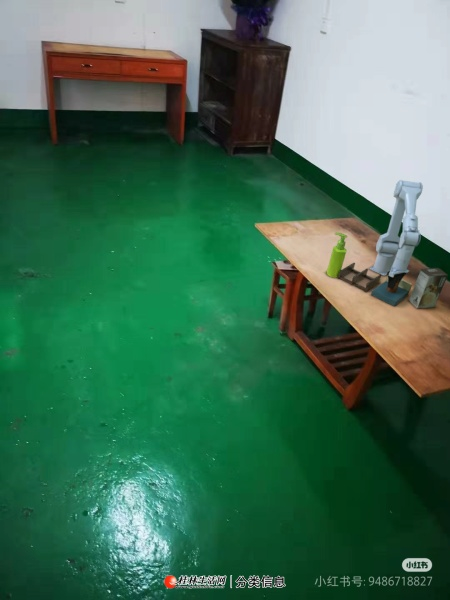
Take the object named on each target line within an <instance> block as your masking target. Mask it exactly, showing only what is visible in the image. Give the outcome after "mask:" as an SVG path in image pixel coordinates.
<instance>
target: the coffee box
mask: <svg viewBox="0 0 450 600" xmlns="http://www.w3.org/2000/svg"><path fill="white" fill-rule="evenodd" d="M448 276H449V275H448V274H447V273H446V272H445V271H443V270H442V269H441V268H439V267H432V268H431V267H428V268H420V270H419V272H418V275H417V278H416V281H415V283H414V286H413V288H412V291H411V294H410V296H409V299H408V301H409V302H410V303H411V305H413V306H414V307H415V308H416V309H428V308H435V307H436V305H437V302H438V300H439V297H440V295H441V293H442V290H443V288H444V285H445V284H446V280H447V279H448Z"/></svg>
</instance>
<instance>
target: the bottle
mask: <svg viewBox="0 0 450 600" xmlns="http://www.w3.org/2000/svg"><path fill="white" fill-rule="evenodd" d="M399 283H400V281H399V280H398V281H397V282H396V284H395V286H394V288H393V289H390V288H388V286H387V291H388V292H391V293H396V291H397V289H398V286H399Z"/></svg>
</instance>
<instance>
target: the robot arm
mask: <svg viewBox="0 0 450 600" xmlns="http://www.w3.org/2000/svg"><path fill="white" fill-rule="evenodd" d="M394 187H395V188H394V191H393V197H394V198H395V203H394V206H393V210H392V214H391V218H390V221H389V224H388V229H387V231H386V232H385V233H383V234H381V235H380V236H378V237H379V238H378V240H377V242H376V246H375V250H376V252H377V255H376V257H375V261H374V263H373V266H371V267H369V270H370V271H372V272H375V273H377V274H379V275H382V276H384V277H385V276H388V288H390V289H393V288H394V286H395V284H396V282H397V281H398V280H399V281H401V280H402V279H403V278H404V277H405V276H406V275H407V274H408V273H409V272H410V270H409V269H408V268H409V264H410V261H411V258H412V256H413V253H414V250H415V248H416V247H418V245H419V244H420V242H421V232H420V229H419V217H418V216H417V214H416V209H417V202H418V200H419V199H420V196H421V195H422V193H423V189H424V188H423V187H424V185H423V183H422V182H418V181H417V182H416V181H408V180H403V179H399V180H398V181H397V182H396V184H395V186H394ZM401 226H402V232H401V233H400V236H399V232H400V230H401Z"/></svg>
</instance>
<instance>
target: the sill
mask: <svg viewBox="0 0 450 600" xmlns="http://www.w3.org/2000/svg"><path fill="white" fill-rule="evenodd" d="M386 276H387V275H386ZM387 286H388V276H387V277H386V280H385V281H384V282H382V283H381V284H380V285H378V286H377V287H375V288H374V289H372V290H371V293H370V296H371V297H373V298H376V299H377V300H380V301H382V302H384V303H386V304H388V305H390V306H393V307H395V306H397V305H398V304H399V303H400V302H402V301H403V300H404V299H406V297H408V296H409V294H410V291H411V289H412V287H413V283H411V282H410V281H407V280H405V279H403V278H402V280H401V281H400V283H399V286H398V289H397V291H396V293H391V292H388V291H387Z"/></svg>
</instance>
